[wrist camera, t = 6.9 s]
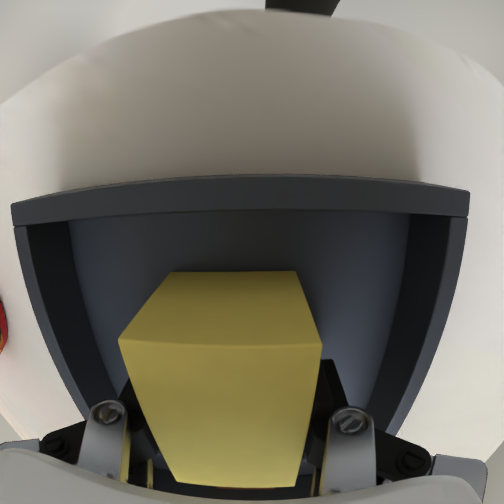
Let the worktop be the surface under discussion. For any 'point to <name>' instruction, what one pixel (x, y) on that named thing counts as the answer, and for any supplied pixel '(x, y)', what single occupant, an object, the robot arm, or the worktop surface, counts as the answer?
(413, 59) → the worktop surface
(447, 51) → the worktop surface
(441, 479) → the robot arm
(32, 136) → the worktop surface
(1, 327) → the canned food
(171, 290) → the sponge
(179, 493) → the pan
